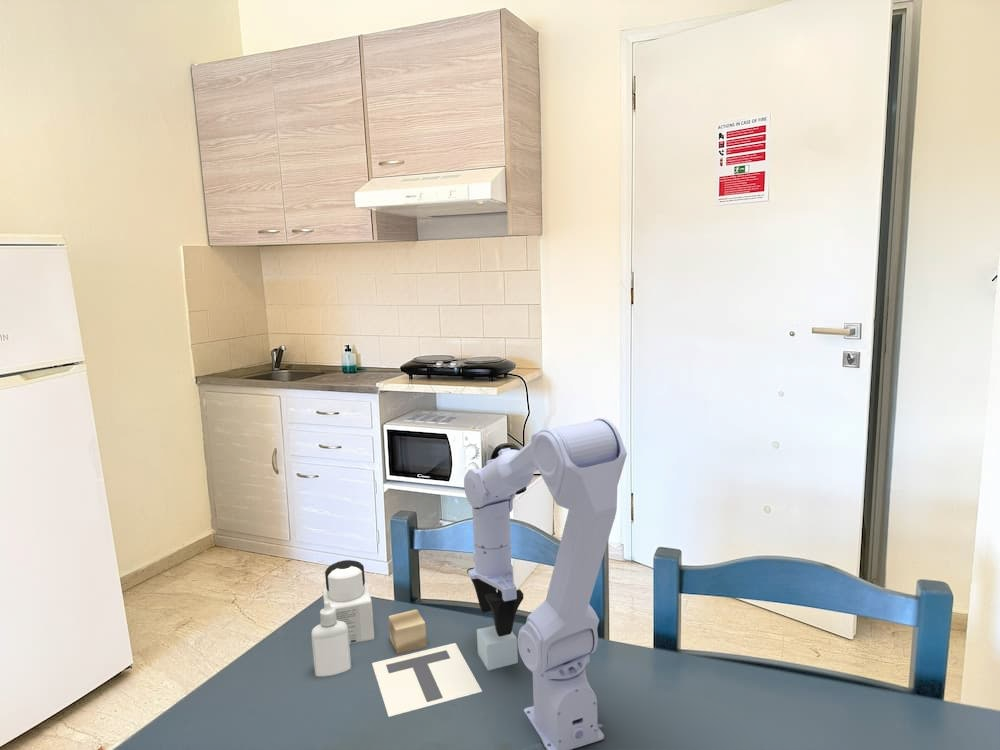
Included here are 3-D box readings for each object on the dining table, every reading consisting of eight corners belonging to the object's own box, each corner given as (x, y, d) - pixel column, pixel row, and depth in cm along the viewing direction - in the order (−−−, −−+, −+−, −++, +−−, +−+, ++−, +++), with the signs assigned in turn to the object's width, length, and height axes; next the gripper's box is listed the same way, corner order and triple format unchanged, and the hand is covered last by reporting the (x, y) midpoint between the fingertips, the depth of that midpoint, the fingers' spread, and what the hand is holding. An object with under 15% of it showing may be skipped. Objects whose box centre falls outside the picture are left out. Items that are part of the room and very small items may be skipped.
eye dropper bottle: (344, 682, 103) (338, 610, 101) (310, 679, 104) (303, 608, 102) (355, 665, 108) (349, 596, 106) (322, 662, 109) (316, 594, 107)
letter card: (482, 695, 99) (482, 691, 99) (388, 720, 94) (388, 716, 94) (455, 646, 112) (455, 642, 112) (372, 666, 107) (371, 662, 107)
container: (326, 628, 119) (320, 560, 117) (369, 619, 121) (364, 552, 119) (328, 651, 112) (322, 579, 110) (374, 642, 114) (369, 571, 112)
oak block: (427, 650, 111) (425, 622, 110) (397, 658, 109) (395, 630, 108) (418, 635, 116) (417, 609, 115) (390, 643, 114) (388, 616, 113)
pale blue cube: (518, 667, 106) (516, 637, 105) (488, 674, 104) (486, 645, 103) (506, 650, 110) (505, 622, 109) (478, 657, 109) (476, 629, 108)
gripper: (454, 529, 109) (458, 605, 111) (483, 565, 96) (487, 651, 98) (494, 521, 111) (498, 597, 114) (528, 556, 98) (531, 640, 100)
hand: (495, 621), depth 106 cm, fingers open, 7 cm apart
